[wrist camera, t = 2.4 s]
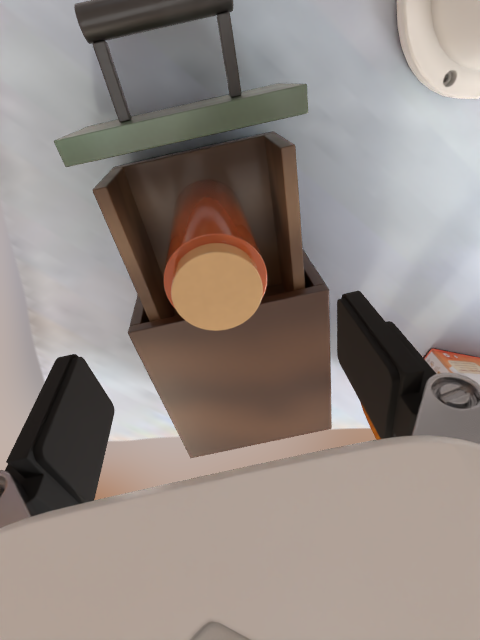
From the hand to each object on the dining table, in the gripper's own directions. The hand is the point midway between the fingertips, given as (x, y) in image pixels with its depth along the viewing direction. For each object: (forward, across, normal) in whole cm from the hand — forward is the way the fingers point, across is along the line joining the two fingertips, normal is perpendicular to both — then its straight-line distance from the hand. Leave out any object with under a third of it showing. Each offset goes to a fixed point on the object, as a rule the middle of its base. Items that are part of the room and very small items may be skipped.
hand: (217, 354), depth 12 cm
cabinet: (+17, 0, +12) cm, 21 cm away
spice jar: (+15, 0, 0) cm, 15 cm away
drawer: (+16, 0, -2) cm, 16 cm away
